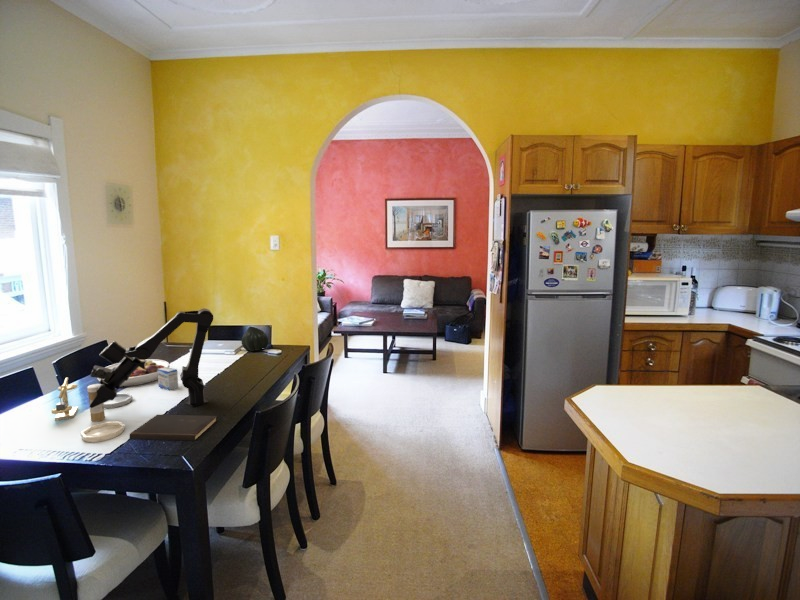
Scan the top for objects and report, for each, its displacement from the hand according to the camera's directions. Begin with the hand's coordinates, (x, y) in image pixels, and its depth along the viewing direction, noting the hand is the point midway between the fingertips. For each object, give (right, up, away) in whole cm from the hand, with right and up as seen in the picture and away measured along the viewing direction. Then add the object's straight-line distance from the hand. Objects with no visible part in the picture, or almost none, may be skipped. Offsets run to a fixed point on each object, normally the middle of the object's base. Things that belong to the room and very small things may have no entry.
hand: (91, 403), depth 161 cm
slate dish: (-3, -4, +18) cm, 19 cm away
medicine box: (+9, -1, +36) cm, 37 cm away
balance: (-14, -6, +6) cm, 16 cm away
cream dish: (+11, -8, -10) cm, 17 cm away
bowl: (-14, 0, +49) cm, 51 cm away
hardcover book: (+34, -9, -6) cm, 36 cm away
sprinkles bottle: (+1, -7, +2) cm, 7 cm away
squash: (+28, +8, +98) cm, 102 cm away
